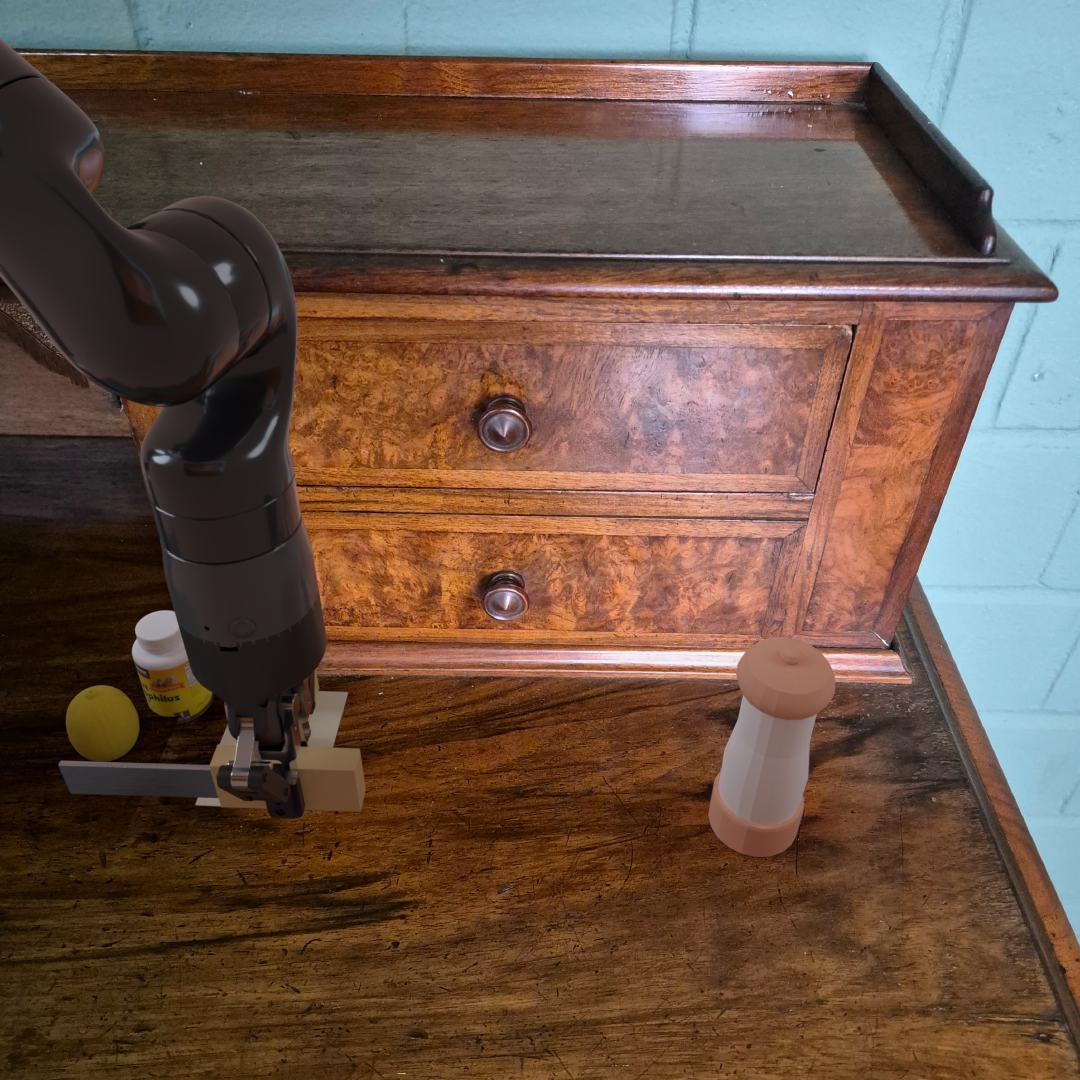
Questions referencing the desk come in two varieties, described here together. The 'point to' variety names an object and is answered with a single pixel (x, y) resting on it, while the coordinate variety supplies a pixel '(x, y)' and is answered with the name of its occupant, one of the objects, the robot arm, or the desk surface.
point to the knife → (322, 772)
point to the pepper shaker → (770, 746)
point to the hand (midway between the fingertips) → (292, 797)
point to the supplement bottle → (167, 669)
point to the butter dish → (321, 726)
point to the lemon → (102, 723)
